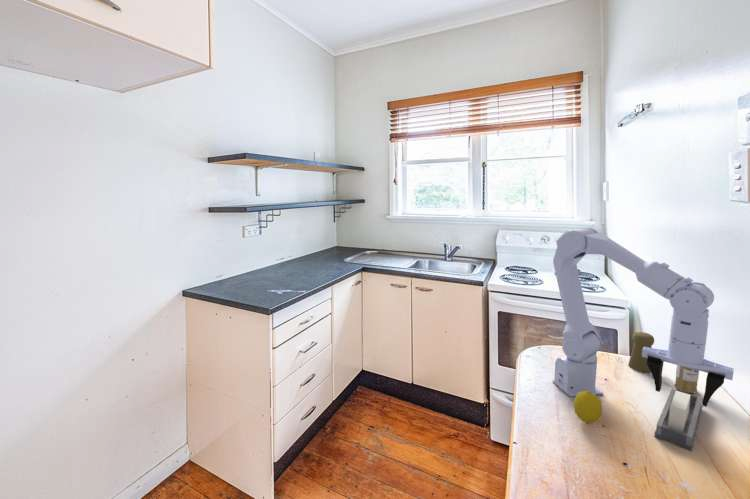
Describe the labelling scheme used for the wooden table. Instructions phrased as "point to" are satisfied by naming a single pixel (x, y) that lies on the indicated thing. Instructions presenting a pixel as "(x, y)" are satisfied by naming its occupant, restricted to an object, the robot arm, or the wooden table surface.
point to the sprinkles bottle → (686, 379)
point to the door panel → (679, 411)
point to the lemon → (588, 407)
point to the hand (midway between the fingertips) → (680, 396)
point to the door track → (689, 434)
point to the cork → (640, 351)
